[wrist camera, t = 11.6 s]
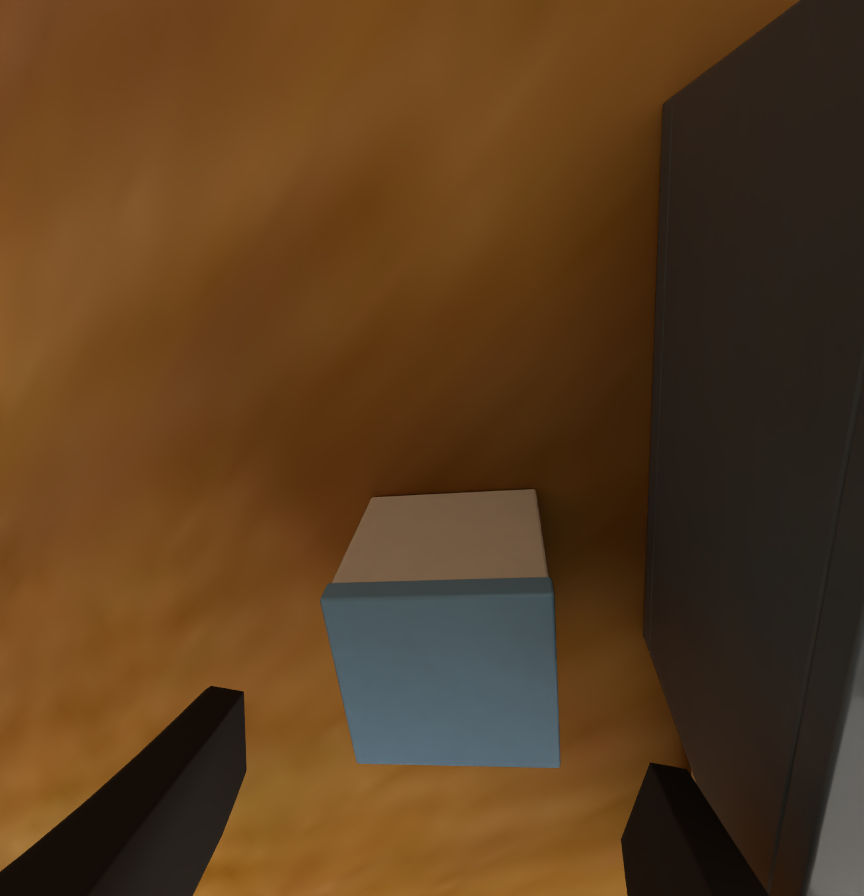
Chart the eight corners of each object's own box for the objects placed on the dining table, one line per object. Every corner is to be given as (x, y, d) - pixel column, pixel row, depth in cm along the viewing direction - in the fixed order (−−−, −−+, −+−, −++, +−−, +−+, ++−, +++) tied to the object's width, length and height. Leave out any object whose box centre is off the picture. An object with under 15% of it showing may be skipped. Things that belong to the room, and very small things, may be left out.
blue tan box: (544, 626, 16) (561, 769, 12) (392, 628, 17) (356, 764, 12) (537, 486, 14) (554, 593, 10) (368, 494, 15) (318, 599, 11)
